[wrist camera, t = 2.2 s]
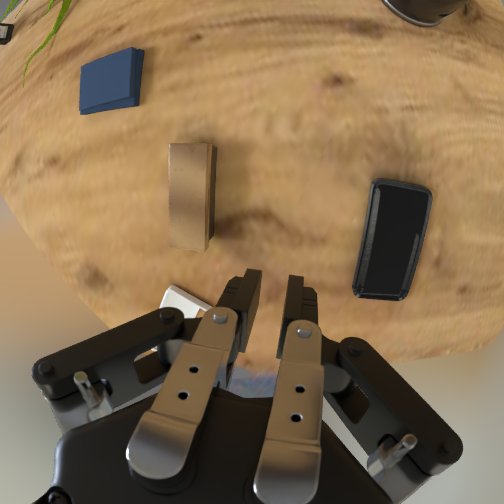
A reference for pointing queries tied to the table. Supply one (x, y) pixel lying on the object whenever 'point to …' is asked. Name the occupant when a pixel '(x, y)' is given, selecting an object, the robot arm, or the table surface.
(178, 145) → the tan two-tone block
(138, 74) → the folded cloth
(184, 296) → the phone case
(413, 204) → the phone
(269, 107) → the table surface
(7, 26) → the ink cartridge
